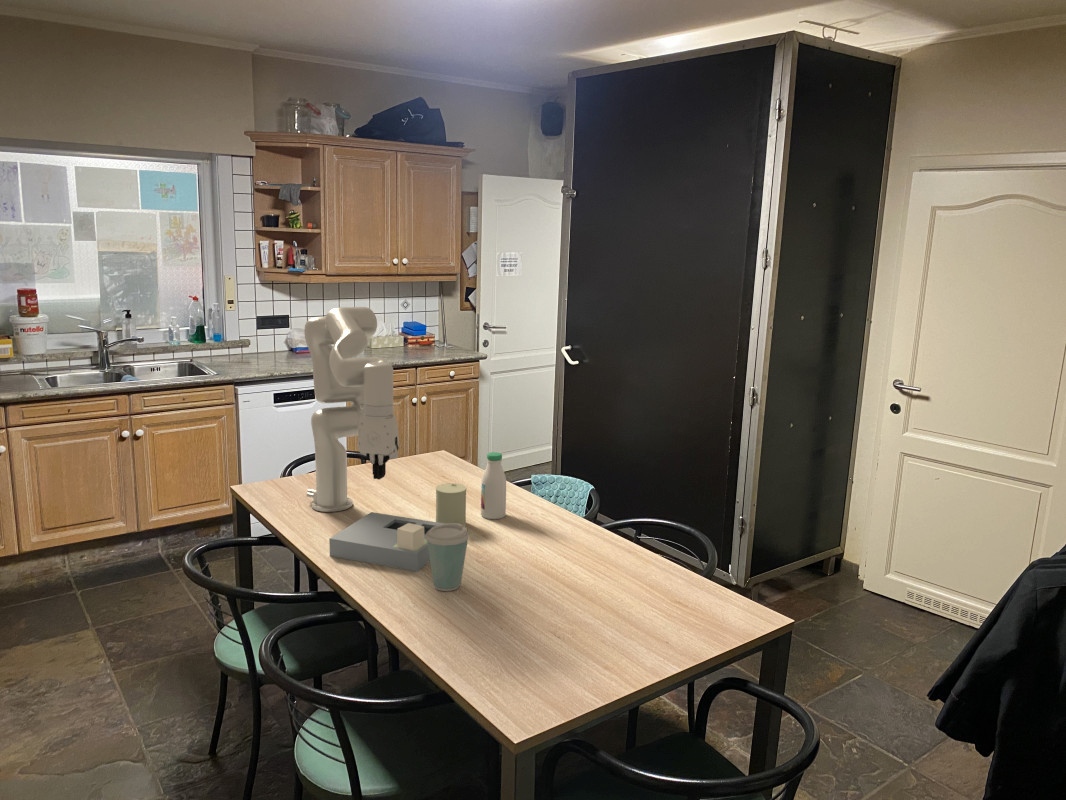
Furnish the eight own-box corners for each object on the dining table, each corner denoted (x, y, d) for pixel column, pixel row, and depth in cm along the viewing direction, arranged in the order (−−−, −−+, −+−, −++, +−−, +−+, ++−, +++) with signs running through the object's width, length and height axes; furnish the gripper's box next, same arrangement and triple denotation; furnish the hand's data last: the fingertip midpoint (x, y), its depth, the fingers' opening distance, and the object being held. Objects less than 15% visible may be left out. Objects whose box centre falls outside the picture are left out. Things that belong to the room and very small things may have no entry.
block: (397, 546, 203) (397, 528, 202) (408, 540, 207) (408, 522, 206) (413, 550, 201) (413, 532, 200) (424, 544, 205) (424, 526, 204)
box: (329, 556, 208) (329, 538, 207) (371, 528, 229) (371, 512, 227) (417, 571, 200) (417, 553, 199) (452, 541, 221) (452, 524, 220)
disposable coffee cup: (433, 598, 186) (434, 539, 183) (418, 580, 195) (419, 524, 192) (474, 590, 191) (475, 533, 188) (458, 573, 200) (459, 518, 197)
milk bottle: (509, 514, 244) (511, 452, 240) (498, 521, 237) (500, 458, 233) (488, 509, 247) (489, 449, 243) (476, 517, 240) (477, 454, 236)
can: (468, 520, 238) (469, 482, 235) (463, 531, 229) (463, 492, 226) (439, 518, 239) (439, 480, 236) (432, 528, 230) (432, 490, 227)
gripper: (345, 410, 200) (346, 478, 204) (397, 416, 196) (397, 485, 199) (360, 404, 207) (361, 470, 211) (411, 410, 203) (411, 477, 206)
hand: (379, 477), depth 205 cm, fingers closed
